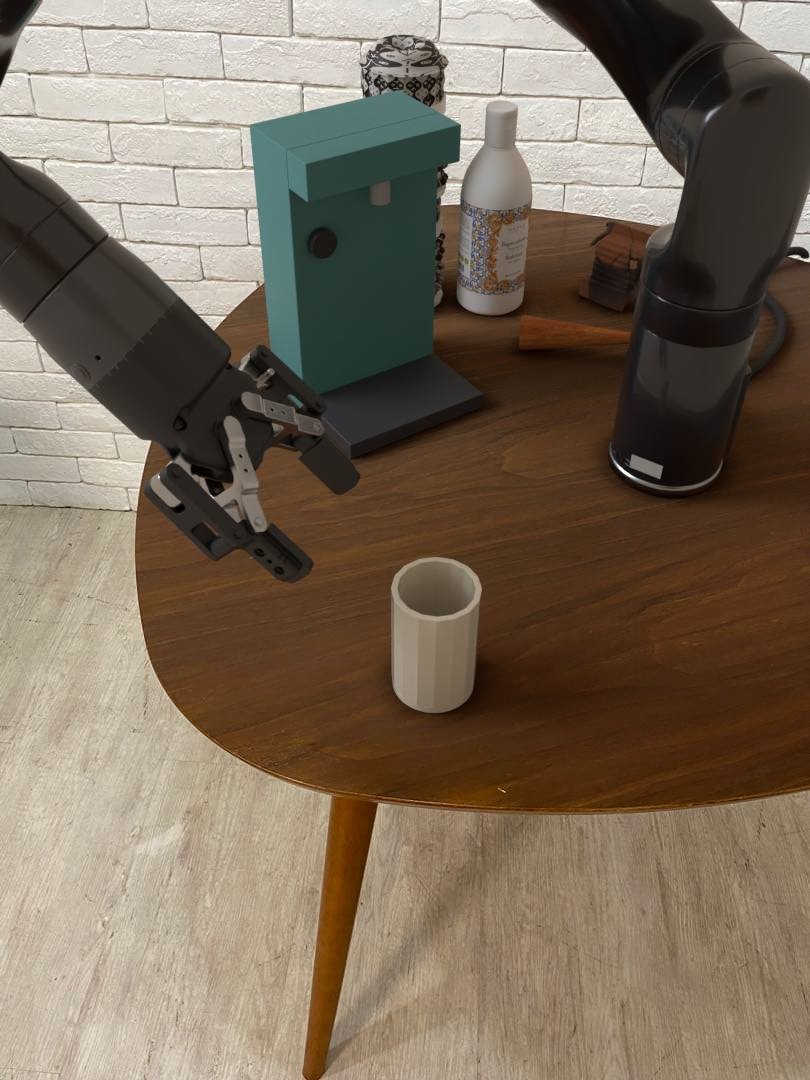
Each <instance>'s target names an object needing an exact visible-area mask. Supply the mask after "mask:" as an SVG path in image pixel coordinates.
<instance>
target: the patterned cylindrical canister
mask: <svg viewBox="0 0 810 1080" xmlns="http://www.w3.org/2000/svg"><path fill="white" fill-rule="evenodd" d="M358 63H359V65H360V68H361V86H362V88H361V89H362V90H361V94H360V99H362V98H367V97H371V96H375V95H380V94H384V93H388V92H393V91H397V90H399V91H401V92H403V93H405V94H407V95H408V96H410V97H412V98H414V99H416V100H418V101H419V102H421V103H423V104H425V105H427V106H428V107H430V108H432V109H434V110H436V111H437V112H439V113H441V114H443V115H445V113H446V111H447V109H446V108H447V94H446V93H445V89H444V88H445V83H446V75H445V69H446V68H447V67H448V65H449V63H450V61H449V59H448V57H447V56H446V55H444V54H443V53H441V52H440V50H439V49H438V47H437V46H436V44H435V43H434V42H433V41H432V40H430V39H428V38H426V37H424V36H419V35H415V34H394V35H387V36H383V37H381V38H379V39H377V40H375V41H374V42H373V43H372V45H371V46H370V47H369V48H368V51H367V52H366V53H364V54H362V55H361V56H360V58H359V59H358ZM448 166H449V164H448V165H445V166H441V167H438V177H437V214H436V252H435V289H434V308H435V307H436V306H438V305H439V304H441V301H442V297H443V296H444V295H443V293H444V292H443V290H442V289H443V286H442V284H443V283H444V282H445V278H444V277H443V274H444V273H443V270H444V269H445V268H446V267H445V264H444V263H443V262H442V261H443V257H444V256H443V254H444V253H445V252H446V250H445V247H444V246H443V244H444V240H445V239H446V234H445V232H443V215H442V213H441V206H442V196H444V194H445V191H446V189H447V182H448V181H449V175H448V174H447V173H446V172H445V169H447V168H448Z"/></svg>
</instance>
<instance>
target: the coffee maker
mask: <svg viewBox="0 0 810 1080" xmlns="http://www.w3.org/2000/svg"><path fill="white" fill-rule="evenodd" d="M249 134H250V144H251V155H252V168H253V177H254V186H255V188H254V189H255V197H256V209H257V210H256V211H257V219H258V220H257V221H258V228H259V229H258V230H259V239H260V241H259V242H260V250H261V251H260V252H261V261H262V262H261V263H262V273H263V283H264V292H265V293H264V294H265V304H266V314H267V315H266V316H267V323H268V324H267V325H268V334H269V335H268V336H269V346H270V350H271V351H272V352H273V353H274V354H275V355H276V356H277V357H278V358H279V359H280V360H281V361H283V362H284V363H285V364H286V365H287V366H288V367H289V368H290V369H291V370H292V371H293V372H294V373H295V374H296V375H298V376H299V377H300V378H301V379H302V380H303V381H304V382H305V383H306V384H307V385H308V386H309V387H310V388H312V389H313V390H314V391H315V392H316V393H317V394H318V395H319V396H320V397H321V398H322V399H323V400H324V401H325V403H326V405H327V410H326V412H324V413H323V414H322V415H321V423H322V425H323V427H324V434H325V435H326V436H327V437H329V439H330V440H331V441H333V442H334V443H335V445H336V446H337V447H339V448H340V450H341V451H342V452H343V453H344V454H345V455H346V456H347V457H349V458H350V459H355V458H356V457H359V456H362V455H364V454H366V453H369V452H372V451H375V450H377V449H379V448H383V447H384V446H388V445H390V444H392V443H395V442H398V441H400V440H403V439H405V438H409V437H410V436H412V435H415V434H418V433H420V432H423V431H426V430H427V429H430V428H433V427H436V426H438V425H440V424H443V423H445V422H448V421H451V420H453V419H455V418H458V417H460V416H464V415H466V414H469V413H470V412H473V411H476V410H479V409H481V408H483V405H484V403H483V401H484V393H483V392H481V390H479V388H477V387H476V386H474V385H473V384H472V383H471V382H470V381H468V380H467V379H466V378H465V377H463V376H462V375H461V374H459V373H458V372H457V371H456V370H454V369H453V368H452V367H451V366H450V365H448V364H447V363H446V362H445V361H444V360H442V359H441V358H440V357H438V356H437V355H436V354H434V327H435V326H434V323H435V320H434V319H435V307H434V289H435V252H436V214H437V177H438V167H441V166H445V165H448V166H449V165H452V164H455V163H459V162H460V159H461V137H462V136H461V134H462V124H461V123H459V122H457V121H455V120H454V119H452V118H451V117H448V116H447V115H445V114H444V115H443V114H441V113H439V112H437V111H436V110H434V109H432V108H430V107H428V106H427V105H425V104H423V103H421V102H419V101H418V100H416V99H414V98H412V97H410V96H408V95H407V94H405V93H403V92H401V91H399V90H397V91H393V92H388V93H384V94H380V95H375V96H371V97H367V98H362V99H361V98H358V99H354V100H350V101H346V102H341V103H337V104H333V105H332V104H331V105H328V106H323V107H319V108H315V109H311V110H306V111H302V112H298V113H297V112H296V113H294V114H289V115H284V116H279V117H276V118H272V119H267V120H263V121H258V122H255V123H250V124H249ZM288 398H289V399H290V400H291V401H292V402H293V403H294V404H295V405H296V406H297V407H298V408H300V407H301V406H303V404H302V403H301V402H300V401H299V400H298V399H297V398H295V397H294V396H293V395H288Z"/></svg>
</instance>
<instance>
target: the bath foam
mask: <svg viewBox="0 0 810 1080" xmlns="http://www.w3.org/2000/svg"><path fill="white" fill-rule="evenodd" d="M518 114H519V107H518V105H517V104H516V103H515V102H513V101H509V100H493V101H490V102H488V103H487V104H486V107H485V120H484V142H483V144H482V145H481V147H480V149H479V150H478V151H477V153H476V154H475V155H474V157H473V158H472V159H471V161H470V162H469V164H468V166H467V168H466V171H465V172H464V176H463V179H462V182H461V188H460V190H461V191H460V195H459V197H460V198H459V199H460V200H459V218H458V219H459V222H458V223H459V224H458V246H457V270H456V271H457V272H456V299H457V302H458V303H459V305H460V306H461V307H462V308H464V309H466V310H467V311H469V312H471V313H474V314H477V315H482V316H500V315H501V316H502V315H506V314H509V313H511V312H514V311H515V310H517V309H518V308H519V307H520V306H521V305H522V303H523V301H524V294H525V293H524V292H525V283H526V272H527V262H528V261H527V260H528V251H529V250H528V249H529V239H530V229H531V228H530V227H531V217H532V206H533V182H532V177H531V173H530V170H529V167H528V166H527V163H526V161H525V160H524V158H523V156H522V154H521V152H520V150H519V148H518V147H517V145H516V141H517V140H516V139H517V130H518V129H517V128H518V116H519V115H518Z"/></svg>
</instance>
